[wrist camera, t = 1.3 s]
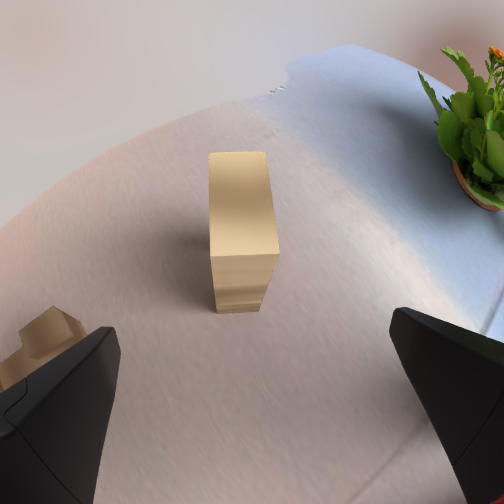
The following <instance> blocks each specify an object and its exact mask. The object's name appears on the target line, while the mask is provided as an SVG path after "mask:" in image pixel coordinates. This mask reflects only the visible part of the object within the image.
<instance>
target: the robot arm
mask: <svg viewBox="0 0 504 504" xmlns="http://www.w3.org/2000/svg"><path fill="white" fill-rule="evenodd" d="M389 334H390V337H391V339H392V342H393V344H394V346H395V349H396V351H397V354H398V356H399V358H400V361H401V363H402V366H403V368H404V370H405V372H406V374H407V376H408V378H409V380H410V382H411V384H412V385H413V387H414V389H415V391H416V393H417V395H418V397H419V399H420V401H421V403H422V405H423V407H424V409H425V411H426V413H427V415H428V417H429V419H430V421H431V423H432V425H433V427H434V429H435V431H436V433H437V435H438V437H439V439H440V441H441V443H442V446H443V448H444V450H445V452H446V454H447V456H448V459H449V461H450V463H451V465H452V467H453V470H454V472H455V475H456V477H457V479H458V482H459V484H460V486H461V489H462V491H463V494H464V496H465V498H466V501H467V503H468V504H494V503H496V502H497V501H498V500H500V499H501V498H503V497H504V343H502V342H500V341H497V340H494V339H491V338H487V337H486V336H483V335H481V334H478V333H475V332H472V331H470V330H467V329H464V328H462V327H459V326H456V325H454V324H451V323H448V322H446V321H443V320H440V319H437V318H435V317H432V316H429V315H427V314H424V313H421V312H419V311H416V310H413V309H411V308H408V307H400V308H396V309H395V310H394V312H393V316H392V320H391V324H390V329H389ZM120 356H121V351H120V346H119V343H118V339H117V335H116V331H115V329H114V328H113V327H100V328H98V329H97V330H95V331H94V332H92V333H91V334H89V335H88V336H86V337H85V338H83V339H82V340H80V341H78V342H77V343H75V344H74V345H72V346H71V347H69V348H68V349H66V350H65V351H63V352H62V353H60V354H59V355H57V356H56V357H54V358H53V359H51V360H50V361H48V362H47V363H45V364H44V365H42V366H41V367H39V368H38V369H36V370H35V371H33V372H32V373H30V374H29V375H27V377H24V378H23V379H21V380H20V381H18V382H17V383H15V384H14V385H12V386H11V387H9V388H7V389H6V390H4V391H2V392H1V393H0V504H93V500H94V494H95V488H96V482H97V476H98V471H99V465H100V460H101V455H102V450H103V445H104V441H105V436H106V431H107V427H108V423H109V418H110V414H111V410H112V406H113V402H114V397H115V391H116V384H117V377H118V369H119V363H120Z"/></svg>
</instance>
